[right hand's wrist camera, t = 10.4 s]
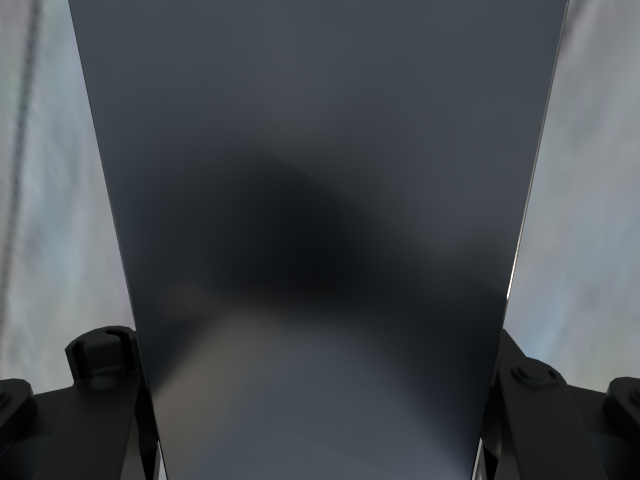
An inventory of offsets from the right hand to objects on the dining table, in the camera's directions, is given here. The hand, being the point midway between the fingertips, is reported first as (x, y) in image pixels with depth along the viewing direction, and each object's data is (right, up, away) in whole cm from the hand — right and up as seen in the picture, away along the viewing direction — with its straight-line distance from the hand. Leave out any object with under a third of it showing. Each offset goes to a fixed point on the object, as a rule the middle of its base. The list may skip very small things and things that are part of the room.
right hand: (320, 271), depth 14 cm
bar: (0, +10, -3) cm, 11 cm away
